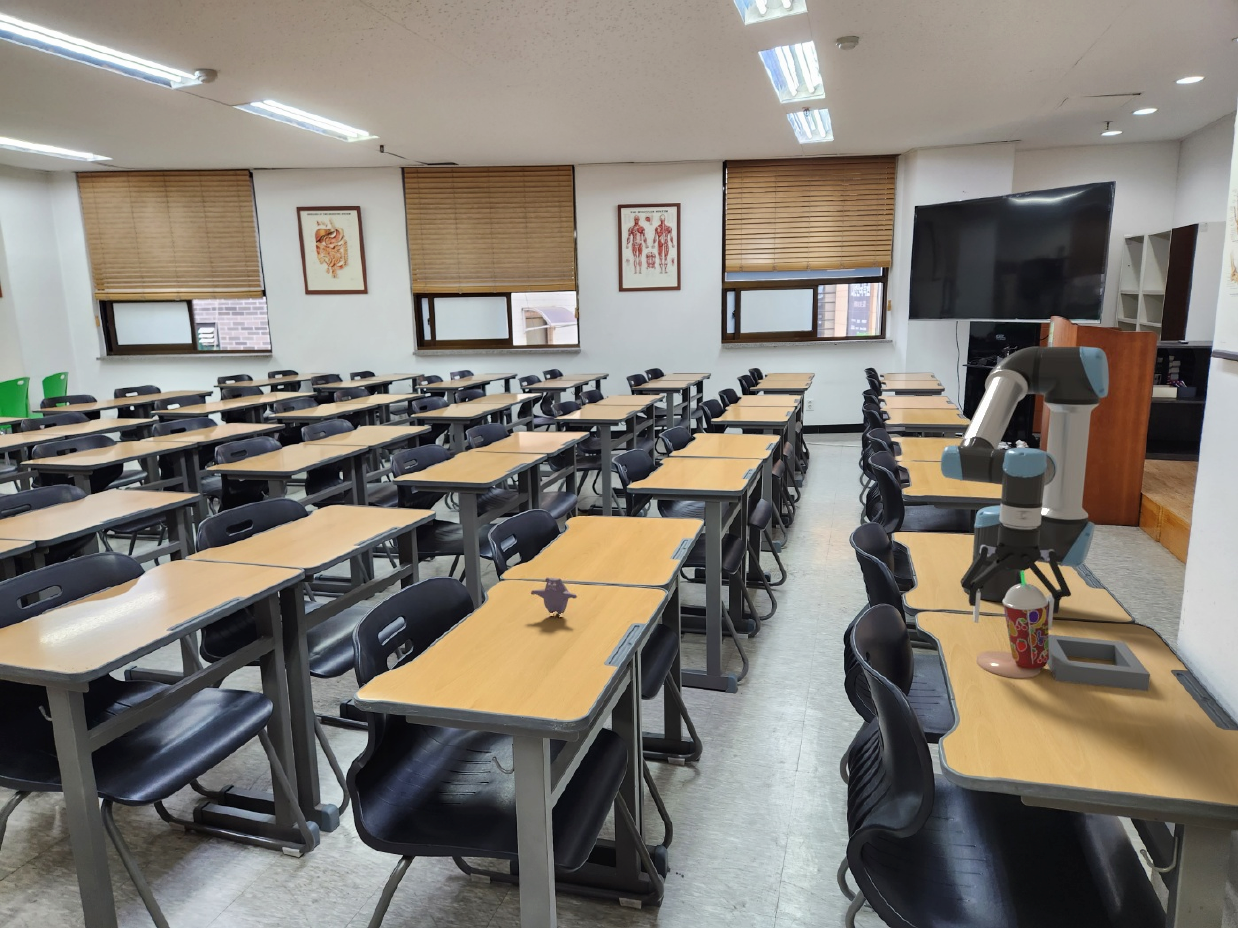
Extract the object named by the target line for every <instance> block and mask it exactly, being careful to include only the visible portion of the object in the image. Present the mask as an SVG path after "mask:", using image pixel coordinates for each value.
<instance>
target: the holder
mask: <svg viewBox="0 0 1238 928" xmlns="http://www.w3.org/2000/svg"><path fill="white" fill-rule="evenodd" d="M1068 657H1072V658H1073V657H1075V658H1082V659H1083V658H1084V659H1092V660H1093V659H1094V660H1103V661H1104V660H1105V661H1112V662H1113V663H1114V664H1106V663H1105V664H1104V663H1094V662H1083V661H1077V660H1069V659H1068ZM1046 665H1047V666H1048V668H1049V670H1050V672H1051V674H1052V675H1053V678H1054V680H1055V681H1057V682H1064V683H1065V682H1066V683H1074V684H1084V685H1092V686H1101V687H1109V688H1119V689H1127V690H1128V689H1129V690H1136V691H1144V692H1145V691H1146V692H1149V687H1150V679H1151V673H1150V672H1149V670H1147V668H1146V667H1145V665H1144V664H1142V662H1141V660H1140V659H1139V658H1138V657H1137V656H1136V654H1135V653H1134V652H1133V650H1131V648H1130V647H1129V645H1128V644H1127V643H1126V642H1125V641H1120V640H1119V641H1118V640H1110V639H1109V640H1108V639H1102V638H1101V639H1098V638H1090V637H1089V638H1088V637H1079V636H1069V635H1057V634H1049V660H1048V661H1047V664H1046Z"/></svg>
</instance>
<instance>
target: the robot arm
mask: <svg viewBox="0 0 1238 928" xmlns="http://www.w3.org/2000/svg"><path fill="white" fill-rule="evenodd" d="M1109 376H1110V375H1109V363H1108V358H1107V354H1106V352H1105V351H1104V350H1103V349H1102V348H1099V347H1092V346H1091V347H1089V346H1030V347H1029V346H1028V347H1026V348H1022V349H1019V350H1017V351H1015V352H1013V353H1011V354H1009V355H1007V356H1006V357H1005V358H1003V359H1001V360H1000V361H999V362H998V363H997V364H995V366H994V367H993V368H992V369H991V370H990V372H989V374H988V376H987V378H986V379H985V384H984V387H985V392H984V394H983V396H982V398H981V399H980V402H979V404H978V406H977V408H976V410H975V412H974V414H973V416H972V419H971V421H970V422H969V425H968V427H967V429H966V431H965V434H963V437H962V439H961V441H960V443H959V445H958V444H955V445H948V446H945V447H944V449H943V451H942V453H941V459H940V471H941V474H942V476H944V478H947V479H953V480H957V481H961V482H962V481H964V482H974V483H985V484H994V485H1001V498H1000V499H1001V500H1000V504H999V505H991V506H986V507H983V508H981V509H979V510H978V511H977V513H976V514H975V521H974V522H975V523H974V524H973V528H974V534H973V545H972V546H973V549H972V550H973V551H972V562H971V564H970V566H969V567H968V569H967V570H966V572H965V574H964V575H963V576H962V578H961V579H960V584H961V585H960V586H961V587H962V589H963V591H964V592H965V593H966V594H968V604H969V606H970V607H971V606H972V607H973V608H972V610H973V611H972V613H973V614H972V620H973V622H974V623H977V624H978V623H980V622H979V619H980V606H981V605H980V604H981V599H983V600H986V601H992V602H998V603H1000V602H1001V603H1003V602H1002V601H1003V599H1004V598H1005V596H1006V593H1007V591H1008V590H1009V589H1010V588H1011V587H1013V586H1014V585H1017V584H1021V583H1022V581H1021V571H1024V572H1025V571H1026V570H1029V569H1030V570H1031V571H1032V573H1033V574H1034V575H1035V576H1036V577H1037V579H1038V580H1039V581H1040V582H1041V583H1042V584H1043V586H1044V587H1045V588H1046V589H1047V590H1048V592H1049V593H1050V594H1046V598H1047V599H1048V631H1049V630H1051V631H1052V627H1053V617H1054V614H1059V612H1060V603H1061V600H1062V598H1064V597H1067V598H1068V597H1069V598H1070V597H1071V596H1072V593H1071V590H1070V588H1069V586H1068V584H1067V582H1066V579H1065V577H1064V576H1063V574H1062V571H1061V568H1060V567H1069V568H1071V567H1072V568H1079V567H1081V566H1082V565H1083V564H1084V563H1085V562H1086V559H1087V556H1088V553H1089V551H1090V547H1091V544H1092V540H1093V537H1094V532H1095V527H1096V526H1095V523H1094V522H1092V521H1089V514H1088V512H1087V511H1086V510H1085V509H1084V508H1083V501H1084V500H1083V496H1084V488H1085V479H1086V478H1085V477H1086V467H1087V457H1088V456H1087V455H1088V446H1089V436H1090V423H1091V413H1092V411H1093V410H1094V409H1095V408H1096V407H1098V406H1099V405H1100V401H1101V400H1100V399H1102V398H1105V397H1106V398H1107V396H1108V393H1109V385H1110V384H1109V383H1110V378H1109ZM1033 394H1034V395H1041V396H1043V403H1044V404H1045V405H1046V406H1047V407H1048V409H1049V422H1048V431H1047V445H1046V451H1045V450H1041V449H1038V448H1030V447H1015V448H1009V449H998V448H999V445H1000V443H1001V442H1002V441H1001V440H1002V438H1003V436H1004V435H1005V432H1006V430H1007V428H1008V426H1009V423H1010V420H1011V418H1012V416H1013V413H1014V411H1015V410H1016V407H1017V405H1018V402H1020V401H1021V400H1023V399H1024V398H1025V396H1026V395H1033ZM1036 562H1038V563H1045V564H1048V565H1049V567H1050V569H1051V571H1052V573H1053V575H1054V577H1055V579H1056V581H1057V584H1058V586H1059V589H1057V588H1056V587H1055V586H1054V584H1053V583H1052V582H1051V581H1050V579H1048V578H1047V576H1046V574H1044V573H1043V572H1042V570H1041V569H1040V568H1039V566H1037V564H1036ZM1059 566H1060V567H1059Z"/></svg>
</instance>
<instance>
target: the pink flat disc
mask: <svg viewBox="0 0 1238 928" xmlns="http://www.w3.org/2000/svg"><path fill="white" fill-rule="evenodd" d="M975 661H976V664H977V665H978V666H979V667H980V668H981V669H983V670H985V671H987V672H989V673H992V674H995V675H998V676H1001V677H1005V678H1006V677H1007V678H1013V679H1029V678H1030V679H1031V678H1033V677H1036V676H1039V674H1040V673H1041V668H1038V669H1028V668H1023V667H1020V666H1018V665H1017V664H1016V662H1015V660H1014V659H1013V658H1012V652H1009V651H1002V650H1000V651H999V650H991V651H990V650H989V651H984V652H981V653H978V655H977V656H976V660H975Z"/></svg>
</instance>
